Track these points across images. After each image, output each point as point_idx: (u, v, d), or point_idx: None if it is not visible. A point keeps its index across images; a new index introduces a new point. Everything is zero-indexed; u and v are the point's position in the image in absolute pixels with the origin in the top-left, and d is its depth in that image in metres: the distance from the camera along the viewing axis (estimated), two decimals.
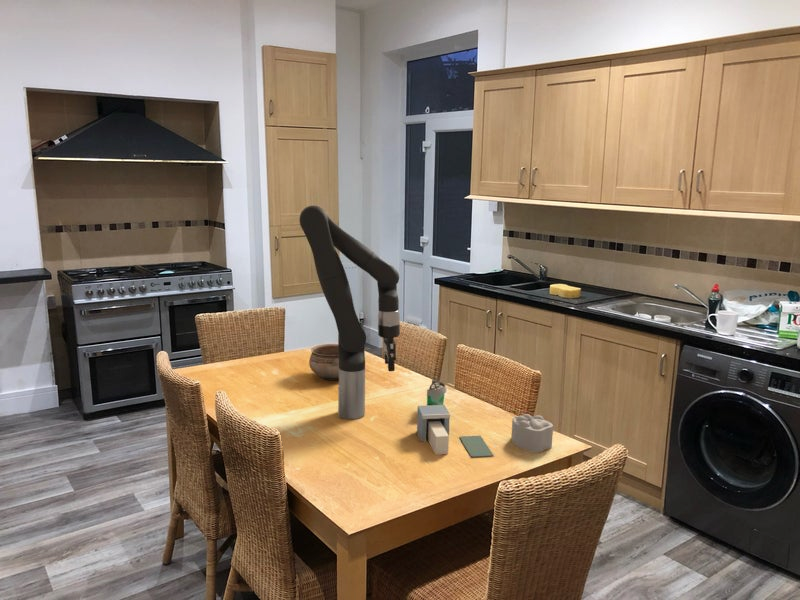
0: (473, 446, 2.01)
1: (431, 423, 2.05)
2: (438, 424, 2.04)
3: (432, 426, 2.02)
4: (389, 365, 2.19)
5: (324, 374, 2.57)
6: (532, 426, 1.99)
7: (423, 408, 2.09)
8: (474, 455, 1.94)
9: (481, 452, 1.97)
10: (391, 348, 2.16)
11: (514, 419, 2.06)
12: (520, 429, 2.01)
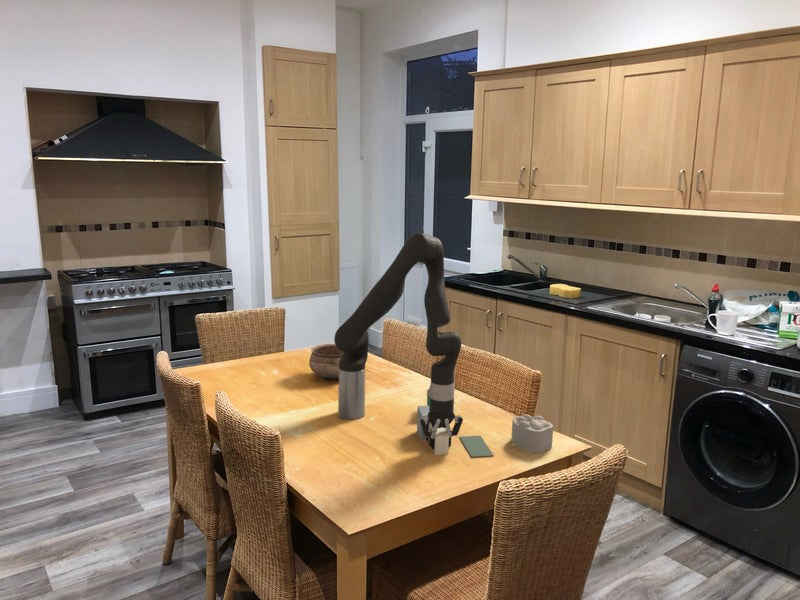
0: (473, 446, 2.01)
1: (431, 423, 2.04)
2: None
3: None
4: (450, 442, 1.98)
5: (324, 374, 2.57)
6: (532, 426, 1.99)
7: (423, 408, 2.09)
8: (474, 455, 1.94)
9: (481, 452, 1.97)
10: None
11: (514, 420, 2.05)
12: (520, 430, 2.00)
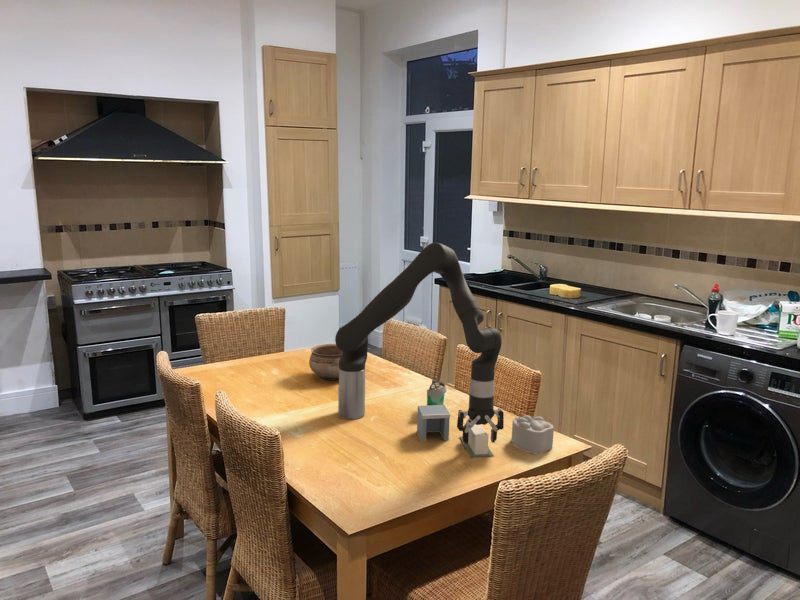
0: None
1: None
2: None
3: None
4: (495, 435, 1.97)
5: (324, 374, 2.57)
6: (533, 427, 1.98)
7: (423, 408, 2.09)
8: (474, 455, 1.94)
9: None
10: None
11: (514, 420, 2.05)
12: (521, 431, 2.00)
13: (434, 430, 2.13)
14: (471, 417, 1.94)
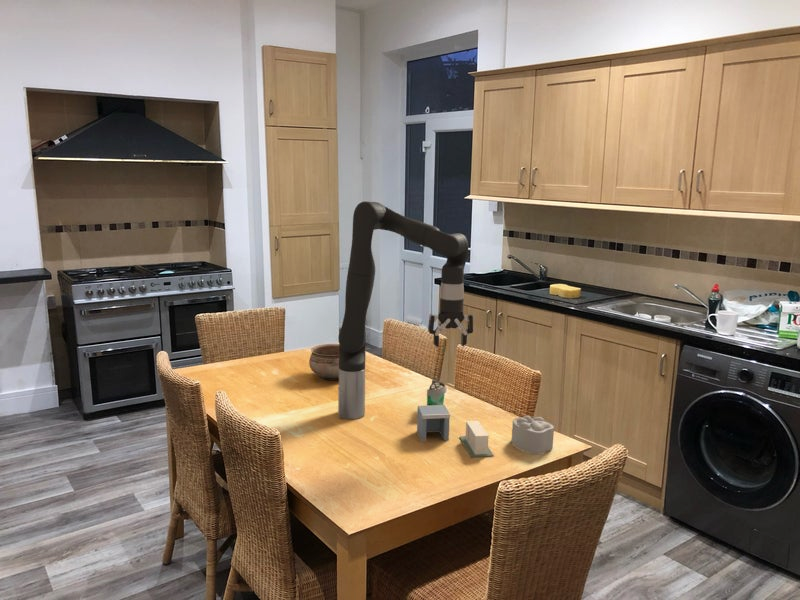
0: None
1: (469, 423, 2.04)
2: (476, 424, 2.03)
3: (471, 426, 2.02)
4: (465, 339, 2.05)
5: (324, 374, 2.57)
6: (533, 428, 1.98)
7: (423, 408, 2.09)
8: (474, 455, 1.94)
9: None
10: None
11: (514, 421, 2.04)
12: (521, 431, 1.99)
13: (434, 430, 2.13)
14: (441, 320, 2.02)
